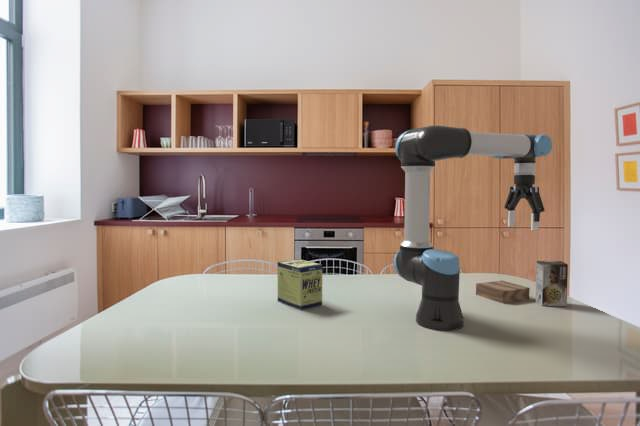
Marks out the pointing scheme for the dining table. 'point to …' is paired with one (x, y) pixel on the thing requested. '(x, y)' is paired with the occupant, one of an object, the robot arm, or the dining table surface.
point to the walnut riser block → (502, 291)
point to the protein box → (300, 283)
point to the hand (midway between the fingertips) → (522, 228)
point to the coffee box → (551, 283)
